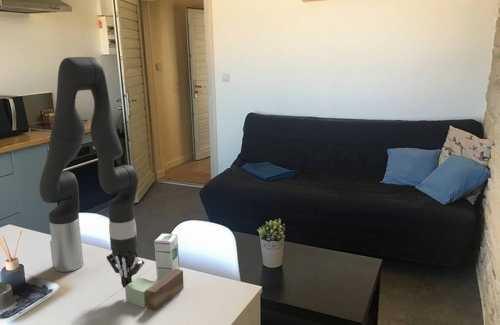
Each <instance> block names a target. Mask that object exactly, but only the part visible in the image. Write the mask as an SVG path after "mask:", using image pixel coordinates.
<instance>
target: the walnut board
mask: <svg viewBox="0 0 500 325" xmlns="http://www.w3.org/2000/svg"><path fill="white" fill-rule="evenodd" d="M179 269H180V268H179ZM179 269H174V270H172V271H171V272H170V273H168V274H167V275H166V276H164V277H163V278H161V279H160V280H159V281H157V280H156V281H155V282H156V283H155V284H153V285H152V286H151V287H149V288H148V289H147V290H146V296H147V306H146V308H147V310H151V311H153V312H156V311H158V310H159V309H160V308H162V307H163V306H164V305H165V304H166V303H168V301H170V300H171V299H172V298H173V297H175V296H176V295H177V294H178V293H180V291H182V290H183V289H184V288H185V286H184V270H183V269H180V270H179Z"/></svg>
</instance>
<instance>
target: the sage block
mask: <svg viewBox="0 0 500 325" xmlns="http://www.w3.org/2000/svg"><path fill="white" fill-rule="evenodd" d="M156 282H157V281H153V280H150V279H147V278H143V277H140V276H139V277H137V278H136V279H134V280H132V282H131V283H129V284H128V285H126V286H125V302H126V303H130V304H133V305H136V306H138V307H142V308H147V296H146V290H147V289H148V288H149V287H151V286H152V285H153V284H155V283H156Z"/></svg>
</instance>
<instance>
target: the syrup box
mask: <svg viewBox="0 0 500 325" xmlns="http://www.w3.org/2000/svg"><path fill="white" fill-rule="evenodd" d="M178 241H179V240H178V234H174V233H160V235H159V236H158V237H157V238H156V239H155V240H154V253H155V255H154V256H155V268H156V269H155V270H156V282H157V281H159V280H160V279H161V278H163V277H164V276H166V275H167V274H168V273H170V272H171V271H172V270H174V269H179V270H181V268H180V255H179V242H178Z"/></svg>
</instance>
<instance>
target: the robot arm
mask: <svg viewBox="0 0 500 325" xmlns="http://www.w3.org/2000/svg"><path fill="white" fill-rule="evenodd" d="M57 71H58V73H57V86H56V102H55V109H54V114H53V121H52V126H51V131H50V137H49V145H48V150H47V155H46V158H45V159H46V160H45V163H44V167H43V170H42V172H41V177H40V180H39V187H38V188H39V195H40V199H41V200H42V201H43V202H45V203H46V204H56V203H59V204H58V205H57V206H56V207H55V208H54V209H52V210H50V212H49V214H48V222H49V231H50V238H51V240H50V241H49V244H50V245H49V246H50V253H51V261H52V262H51V263H52V267H53V268H54V269H55V270H56V272H61V273H67V272H73V271H76V270H78V269H81V267H83V266H84V255H83V245H82V243H83V242H82V236H81V235H82V234H81V223H80V216H79V215H80V214H79V213H80V195H79V194H80V193H79V191H80V190H79V189H80V188H79V183H78V180H77V177H76V175H75V174H74V173H73V172H71V171H64V170H65V168H66V167H67V166H68V164H70V162H72V161H73V160H74V158H75V157H76V156H77V154H79V152H80V150H81V148H82V146H83V141H84V139H85V132H86V128H85V123H84V121H83V119H82V117H81V116H80V113H79V112H78V110H77V108H76V98H77V94H78V92H81V91H90V92H91V95H92V98H93V101H94V102H93V103H94V104H93V107H94V108H93V113H92V118H91V124H90V128H89V129H90V137H91V141H92V144H93V147H94V150H95V153H96V155H97V166H98V167H97V168H98V169H97V170H98V182H99V185H100V187H101V189H102V190H103V191H104V192H105V193H106V194H108V195H113V194H117V195H116V196H115V197H113V199H111V200H109V202H108V206H107V207H108V208H107V210H108V218H109V222H108V223H109V224H108V230H109V232H108V233H109V243H110V250H111V254H108V255H107V256H106V260H107V261H108V263H109V264H110V266H111V268H112V269H113V271H114V273H115V274H119V276H120V280H121V282H120V284H121V285H122V288H125V286H126V285H128V284H129V283H131V282H132V281H133V278H132V277H133V276H134V275H136V274H137V273H138V272H139V271H140V270H141V269H142V267H143V265H144V264H145V261H144V260H140V259H139V258H138V257H139V256H138V253H137V247H138V238H137V237H138V236H137V234H138V233H137V223H136V219H135V200H136V195H137V190H138V186H139V185H138V184H139V175H138V173H137V171H136V169H135V167H133V166H132V165H130V164H124V165H123V164H122V165H120V166H116V167H115V160H116V159H119V158H120V157H121V156H123V155H124V154H123V153H124V150H123V146H122V144H121V141H120V137H119V136H118V133H117V132H118V131H117V129H116V126H115V122H114V118H113V113H112V107H111V100H110V95H109V89H108V82H107V78H106V73H105V71H104V67H103V65H102V63H101V61H100V60H99V59H98V58H96V57H93V56H69V57H65V58H62V60H61V62H60V64H59V67H58V70H57Z"/></svg>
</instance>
